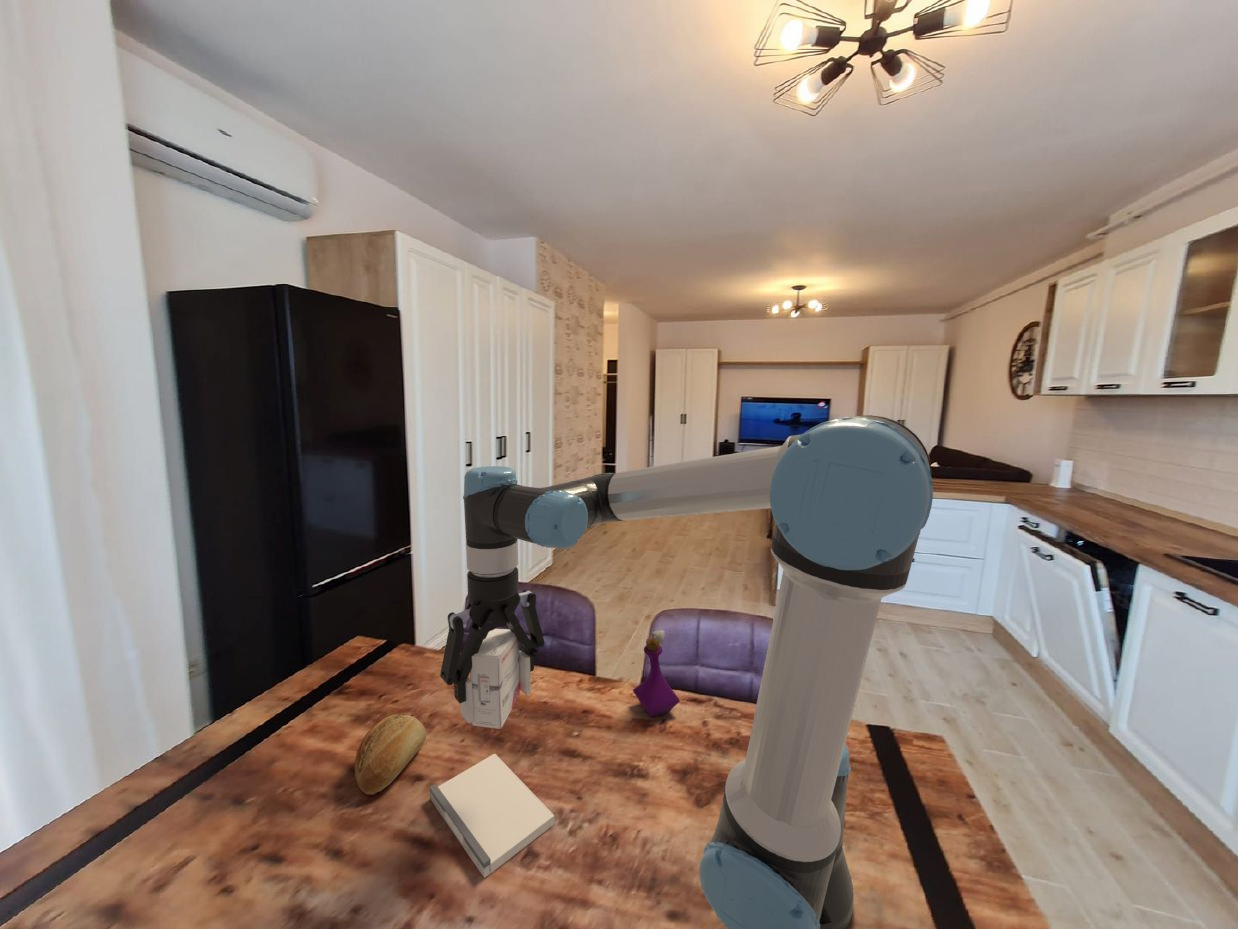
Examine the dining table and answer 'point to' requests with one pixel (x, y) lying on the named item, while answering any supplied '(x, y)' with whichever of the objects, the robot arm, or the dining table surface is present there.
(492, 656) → the ink box
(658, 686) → the perfume bottle
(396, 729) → the bread roll
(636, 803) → the dining table surface
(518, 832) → the white flat slab
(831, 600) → the robot arm
